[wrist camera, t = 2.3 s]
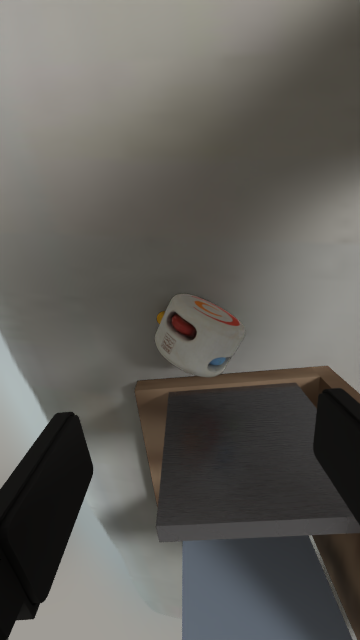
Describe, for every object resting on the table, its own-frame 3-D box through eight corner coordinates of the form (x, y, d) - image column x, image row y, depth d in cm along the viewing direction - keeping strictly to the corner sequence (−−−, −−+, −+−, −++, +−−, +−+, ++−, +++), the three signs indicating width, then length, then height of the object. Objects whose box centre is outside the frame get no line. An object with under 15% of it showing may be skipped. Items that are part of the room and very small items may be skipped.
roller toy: (215, 356, 21) (227, 398, 15) (150, 329, 20) (138, 363, 14) (240, 314, 19) (262, 343, 14) (171, 282, 18) (166, 301, 13)
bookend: (168, 391, 20) (155, 526, 11) (295, 382, 20) (400, 514, 10) (170, 403, 21) (159, 542, 11) (294, 393, 20) (394, 531, 11)
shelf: (137, 380, 22) (31, 710, 6) (327, 365, 21) (712, 702, 6) (161, 508, 27) (135, 835, 12) (310, 500, 27) (475, 839, 12)
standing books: (182, 492, 24) (182, 651, 15) (287, 486, 24) (355, 647, 14) (186, 520, 26) (188, 682, 16) (285, 515, 25) (345, 679, 16)
